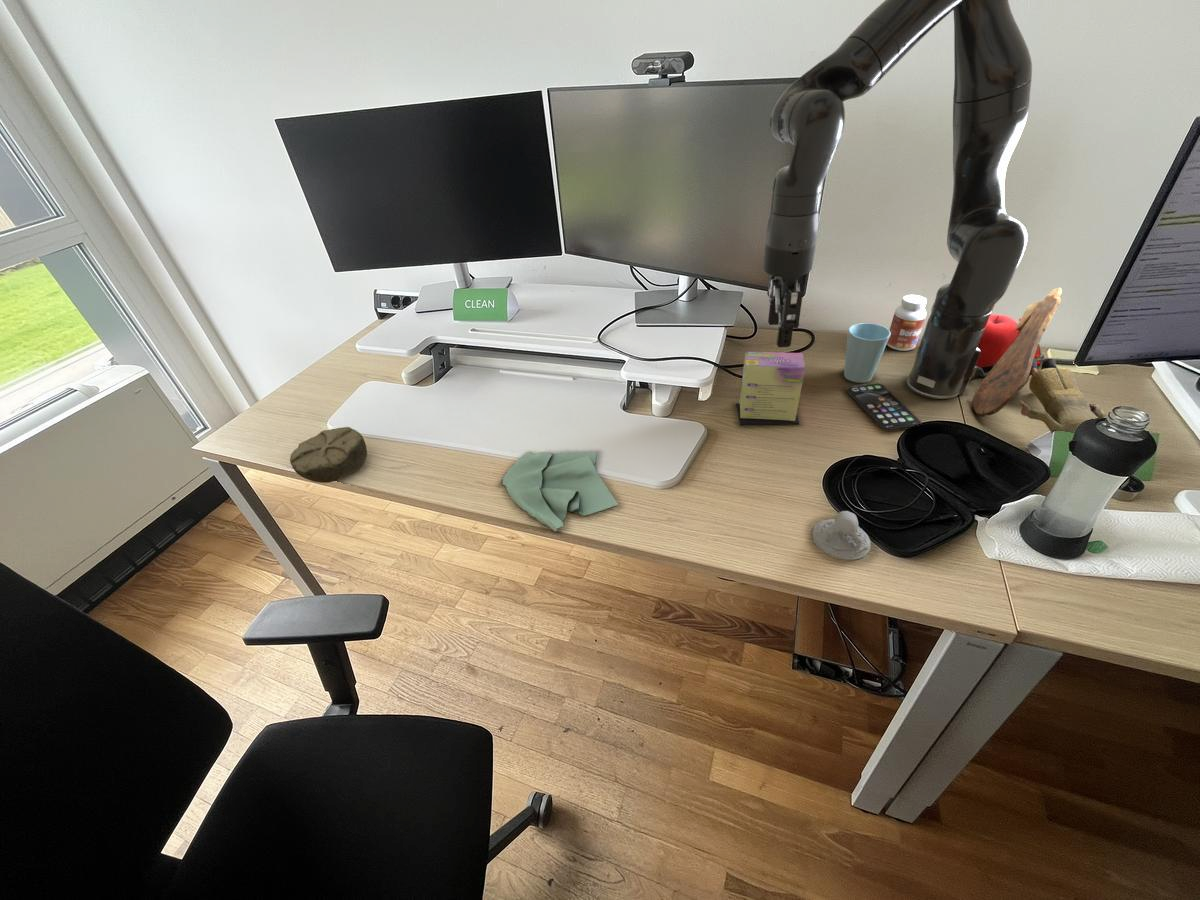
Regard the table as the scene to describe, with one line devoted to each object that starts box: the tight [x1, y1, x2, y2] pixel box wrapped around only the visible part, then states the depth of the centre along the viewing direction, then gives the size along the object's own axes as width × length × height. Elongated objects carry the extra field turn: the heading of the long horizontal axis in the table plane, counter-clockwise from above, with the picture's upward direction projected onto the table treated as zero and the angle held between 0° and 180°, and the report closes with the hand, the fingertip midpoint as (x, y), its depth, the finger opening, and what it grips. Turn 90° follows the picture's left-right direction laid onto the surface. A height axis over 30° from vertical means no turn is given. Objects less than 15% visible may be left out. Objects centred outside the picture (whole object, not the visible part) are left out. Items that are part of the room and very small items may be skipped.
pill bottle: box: [886, 294, 928, 352], centre depth 117 cm, size 6×6×11 cm
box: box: [739, 351, 806, 421], centre depth 100 cm, size 10×6×12 cm, turn 79°
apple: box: [975, 313, 1020, 368], centre depth 108 cm, size 10×10×11 cm
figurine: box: [1019, 357, 1131, 490], centre depth 89 cm, size 11×9×30 cm
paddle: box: [972, 287, 1063, 417], centre depth 99 cm, size 8×3×30 cm
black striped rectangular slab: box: [735, 402, 800, 426], centre depth 103 cm, size 11×7×1 cm, turn 85°
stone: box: [289, 426, 368, 484], centre depth 100 cm, size 13×13×5 cm
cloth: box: [501, 451, 619, 532], centre depth 91 cm, size 20×22×2 cm
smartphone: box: [846, 382, 922, 432], centre depth 102 cm, size 7×1×15 cm
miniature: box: [811, 510, 872, 561], centre depth 76 cm, size 8×8×5 cm
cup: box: [843, 322, 891, 384], centre depth 108 cm, size 8×8×10 cm
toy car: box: [1018, 317, 1045, 366], centre depth 107 cm, size 12×5×3 cm
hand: (778, 334), depth 93 cm, fingers open, 8 cm apart
